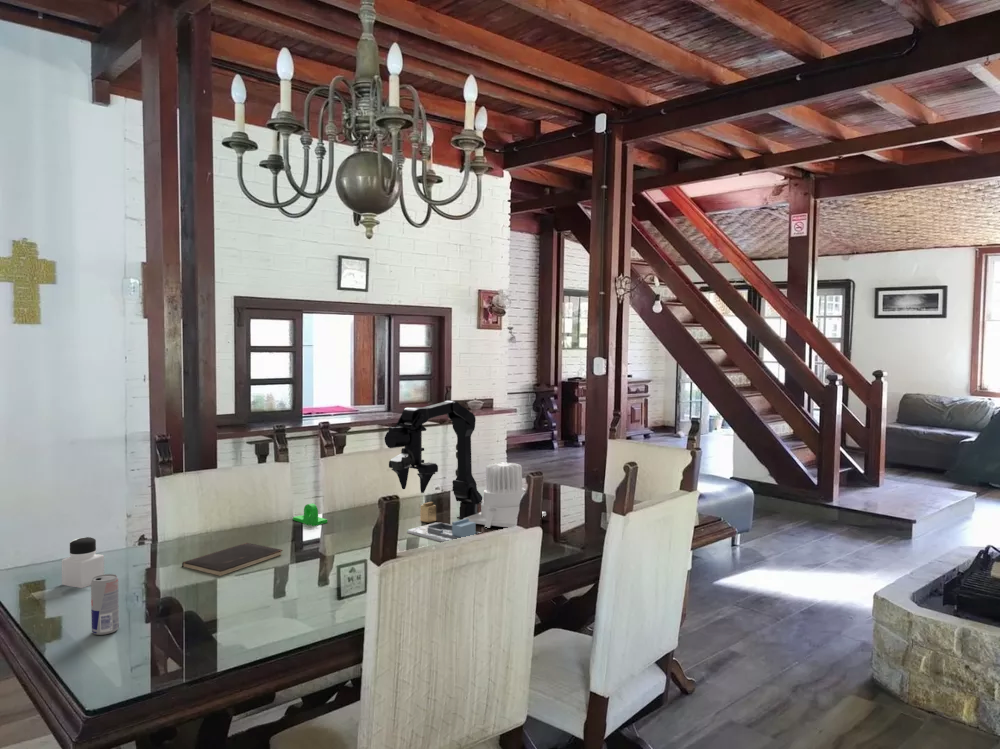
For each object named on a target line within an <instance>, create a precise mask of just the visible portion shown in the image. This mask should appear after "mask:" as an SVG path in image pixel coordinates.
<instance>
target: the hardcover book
mask: <svg viewBox="0 0 1000 749" xmlns="http://www.w3.org/2000/svg"><path fill="white" fill-rule="evenodd" d="M283 551H284V550H283V549H280V548H275V547H269V546H265V545H261V544H260V545H259V544H255V543H250V542H244V543H241V544H238V545H235V546H232V547H228V548H224V549H222V550H218V551H215V552H212V553H208V554H205V555H201V556H198V557H195V558H192V559H188V560H185V561H182V563H181V567H184V568H188V569H192V570H195V571H199V572H203V573H208V574H212V575H216V576H218V577H219V576H220V577H221V576H224V575H226V574H229V573H233V572H235V571H238V570H242V569H244V568H246V567H247V568H248V567H249V566H253V565H255V564H258V563H261V562H264V561H267V560H271V559H272V558H277V557H279V556H282V552H283Z"/></svg>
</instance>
